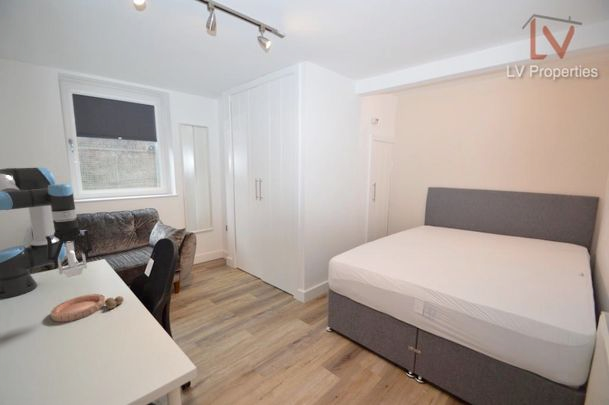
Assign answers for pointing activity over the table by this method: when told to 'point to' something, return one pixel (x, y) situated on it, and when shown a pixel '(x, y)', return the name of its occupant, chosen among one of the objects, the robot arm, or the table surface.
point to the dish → (78, 307)
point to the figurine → (72, 261)
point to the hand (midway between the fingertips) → (73, 270)
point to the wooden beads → (113, 302)
